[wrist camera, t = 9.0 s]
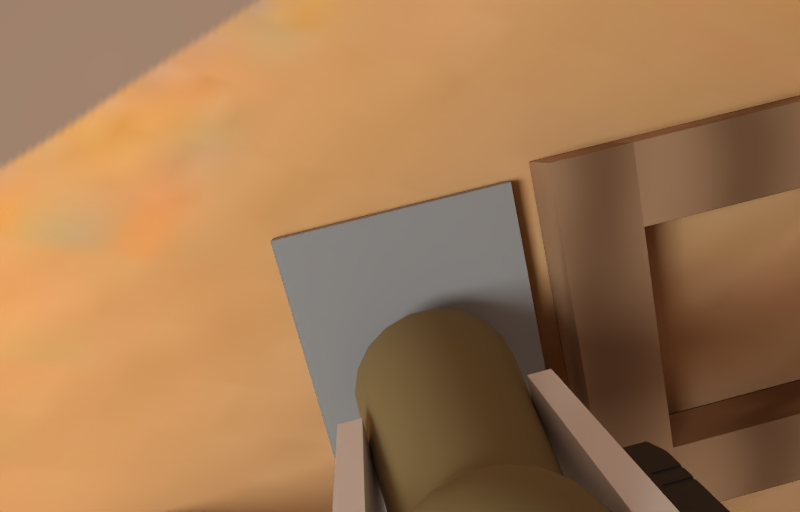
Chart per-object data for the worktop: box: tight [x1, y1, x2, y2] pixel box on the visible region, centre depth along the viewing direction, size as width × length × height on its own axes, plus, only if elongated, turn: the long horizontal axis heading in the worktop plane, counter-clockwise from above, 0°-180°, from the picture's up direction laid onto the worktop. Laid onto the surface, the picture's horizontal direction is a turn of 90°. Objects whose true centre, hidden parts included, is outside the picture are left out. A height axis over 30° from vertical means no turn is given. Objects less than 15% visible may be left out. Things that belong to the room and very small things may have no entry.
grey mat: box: [271, 181, 546, 512], centre depth 20 cm, size 9×13×1 cm
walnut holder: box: [529, 95, 800, 502], centre depth 20 cm, size 15×15×2 cm
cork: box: [355, 309, 611, 512], centre depth 13 cm, size 6×6×11 cm
